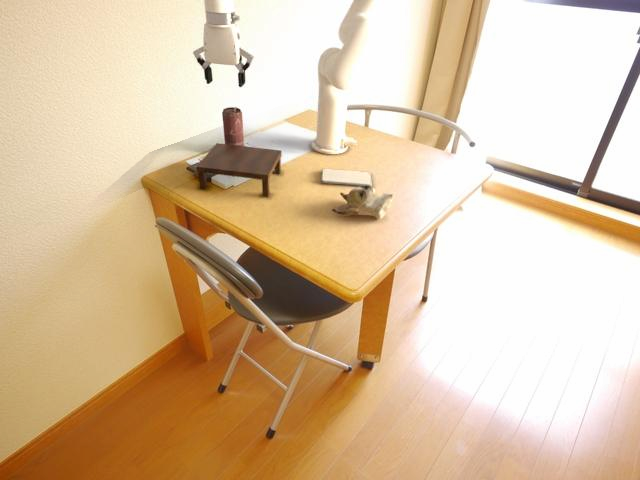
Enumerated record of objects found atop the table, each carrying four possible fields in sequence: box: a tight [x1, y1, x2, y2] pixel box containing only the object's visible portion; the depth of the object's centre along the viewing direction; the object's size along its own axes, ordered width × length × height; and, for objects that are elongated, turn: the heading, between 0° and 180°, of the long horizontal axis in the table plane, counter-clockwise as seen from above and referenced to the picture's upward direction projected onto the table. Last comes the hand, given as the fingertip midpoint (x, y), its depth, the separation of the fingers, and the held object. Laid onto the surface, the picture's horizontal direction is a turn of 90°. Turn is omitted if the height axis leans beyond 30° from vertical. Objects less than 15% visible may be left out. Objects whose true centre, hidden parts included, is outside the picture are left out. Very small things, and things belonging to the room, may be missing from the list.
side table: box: [195, 142, 282, 198], centre depth 117 cm, size 20×16×7 cm
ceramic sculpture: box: [330, 185, 394, 221], centre depth 106 cm, size 11×9×15 cm
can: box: [221, 106, 245, 146], centre depth 130 cm, size 6×6×14 cm
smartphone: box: [320, 168, 373, 187], centre depth 123 cm, size 8×1×15 cm
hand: (225, 84), depth 120 cm, fingers open, 9 cm apart
